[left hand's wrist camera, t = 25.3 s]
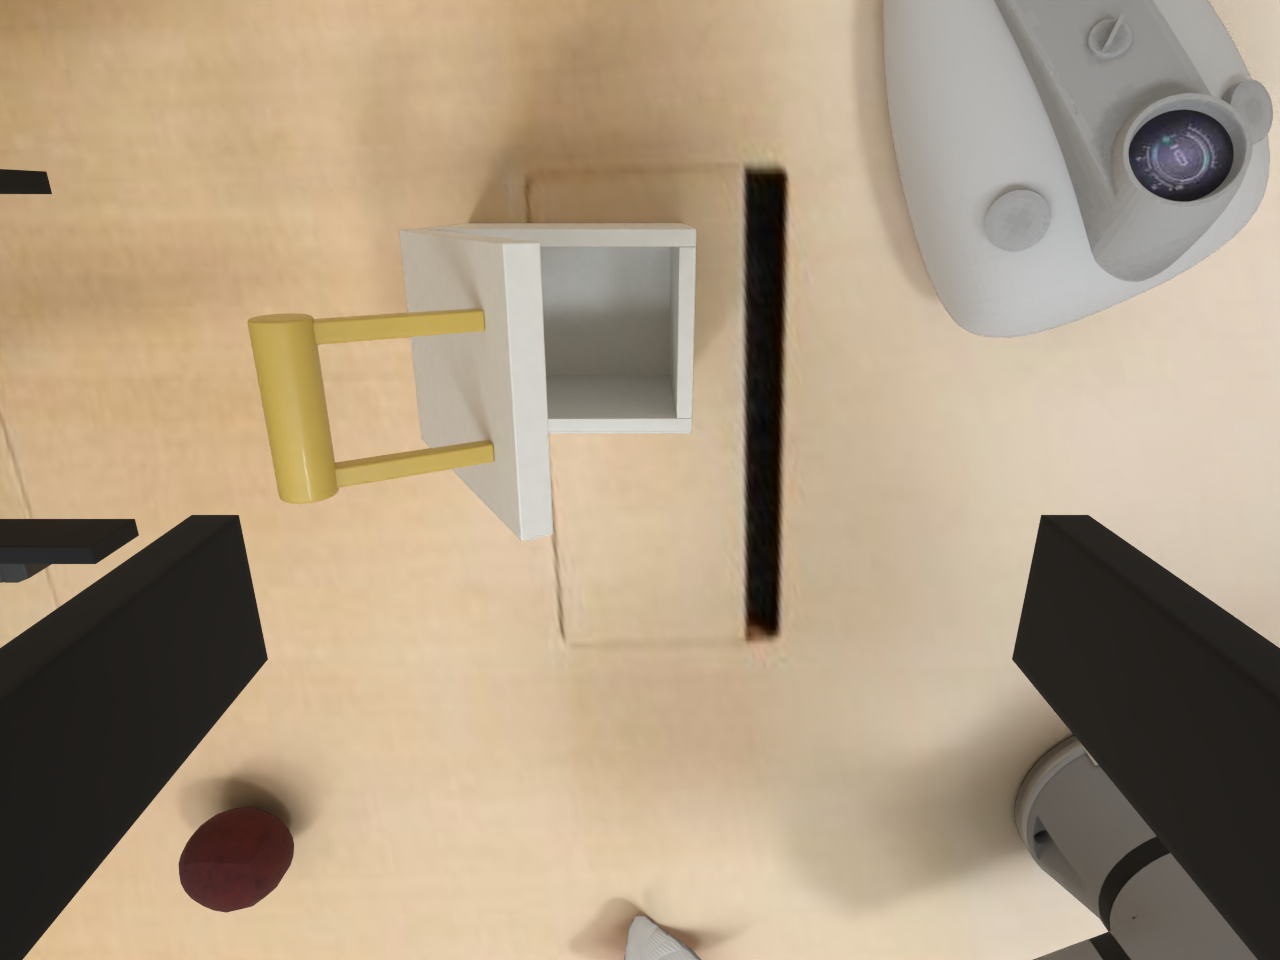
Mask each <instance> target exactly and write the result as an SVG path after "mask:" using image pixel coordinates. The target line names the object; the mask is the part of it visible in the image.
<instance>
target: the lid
mask: <svg viewBox="0 0 1280 960" xmlns="http://www.w3.org/2000/svg"><path fill="white" fill-rule="evenodd" d="M399 235H400V244H401V253H402V263H403V272H404V282H405V291H406V300H407V310H408V313H398V314H383V315H368V316H353V317H338V318H323V319H313V317H312V316H310V315H306V314H274V315H264V316H258V317H253V318H251V319H249V320H248V327H249V333H250V338H251V344H252V349H253V355H254V360H255V366H256V371H257V377H258V382H259V388H260V393H261V399H262V405H263V410H264V416H265V421H266V427H267V432H268V438H269V443H270V449H271V454H272V460H273V465H274V471H275V476H276V482H277V487H278V493H279V497H280V499H281V500H282V501H284V502H287V503H294V504H303V503H312V502H318V501H321V500H325V499H328V498H330V497H332V496H334V495H335V494H336V493H337V492H338V490H339V488H340V487H346V486H352V485H358V484H364V483H370V482H376V481H382V480H388V479H394V478H400V477H406V476H412V475H419V474H425V473H431V472H437V471H443V470H449V469H451V470H452V471H453V472H454V473H455V474H456V475H457V476H458V477H459V478H460V479H461V480H462V481H463V482H464V483H465V484H466V485H467V486H468V487H469V488H470V489H471V490H472V491H473V492H474V493H475V494H476V495H477V496H478V497H479V498H480V499H481V500H482V502H483V503H484V504H485V505H486V506H487V507H488V508H489V509H490V510H491V511H492V512H493V513H494V514H495V515H496V516H497V517H498V518H499V519H500V520H501V521H502V522H503V523H504V524H505V525H506V526H507V527H508V528H509V529H510V530H511V531H512V532H513V533H514V534H515V535H516V536H517V537H518V538H519V539H520V540H521V541H526V540H530V539H535V538H539V537H544V536H548V535H552V534H553V520H552V497H551V475H550V453H549V431H548V409H547V387H546V365H545V343H544V320H543V298H542V276H541V254H540V243H539V242H536V241H527V240H518V239H509V238H499V237H490V236H481V235H472V234H463V233H453V232H444V231H435V230H426V229H418V230H399ZM404 337H410V338H411V347H412V356H413V366H414V375H415V384H416V394H417V403H418V412H419V422H420V431H421V439H422V440H423V441H424V442H425V443H426V444H427V445H428V446H429V447H430V449H423V450H416V451H410V452H403V453H396V454H390V455H383V456H377V457H370V458H363V459H357V460H350V461H344V462H337V463H335V459H334V453H333V446H332V440H331V433H330V426H329V420H328V413H327V406H326V400H325V393H324V386H323V380H322V373H321V366H320V360H319V353H318V347H317V345H319V344H331V343H343V342H356V341H368V340H380V339H392V338H404Z"/></svg>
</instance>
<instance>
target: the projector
mask: <svg viewBox="0 0 1280 960" xmlns="http://www.w3.org/2000/svg"><path fill="white" fill-rule="evenodd" d="M883 32H884V63H885V77H886V90H887V100H888V109H889V117H890V124H891V130H892V137H893V143H894V150H895V155H896V160H897V165H898V169H899V174H900V179H901V184H902V188H903V192H904V196H905V200H906V204H907V208H908V212H909V216H910V219H911V223H912V226H913V230H914V233H915V236H916V240H917V243H918V246H919V249H920V252H921V255H922V258H923V261H924V264H925V266H926V269H927V272H928V274H929V277H930V280H931V282H932V284H933V286H934V289H935V291H936V293H937V295H938V297H939V299H940V301H941V302H942V304H943V306H944V308H945V309H946V311H947V312H948V314H949V315H950V316H951V318H952V319H953V320H954V321H955V322H956V323H957V324H958V325H959V326H960V327H962V328H963V329H965V330H966V331H968V332H970V333H973V334H976V335H980V336H986V337H1018V336H1024V335H1029V334H1034V333H1038V332H1041V331H1045V330H1049V329H1052V328H1055V327H1058V326H1061V325H1064V324H1067V323H1070V322H1073V321H1076V320H1078V319H1081V318H1084V317H1087V316H1089V315H1092V314H1095V313H1097V312H1100V311H1102V310H1105V309H1107V308H1110V307H1112V306H1114V305H1116V304H1118V303H1120V302H1123V301H1125V300H1128V299H1130V298H1132V297H1134V296H1137V295H1139V294H1141V293H1143V292H1146V291H1148V290H1150V289H1152V288H1154V287H1156V286H1158V285H1160V284H1162V283H1164V282H1166V281H1168V280H1170V279H1172V278H1173V277H1175V276H1177V275H1179V274H1181V273H1183V272H1184V271H1186V270H1188V269H1189V268H1191V267H1193V266H1194V265H1196V264H1198V263H1199V262H1201V261H1202V260H1204V259H1205V258H1207V257H1208V256H1210V255H1211V254H1213V253H1214V252H1216V251H1217V250H1218V249H1219V248H1221V247H1222V246H1223V245H1224V244H1226V243H1227V242H1228V241H1229V240H1231V239H1232V238H1233V237H1234V236H1235V235H1236V234H1237V233H1238V232H1239V231H1240V230H1241V229H1242V228H1243V227H1244V226H1245V225H1246V224H1247V223H1248V221H1249V220H1250V219H1251V217H1252V216H1253V215H1254V213H1255V212H1256V210H1257V209H1258V207H1259V204H1260V202H1261V200H1262V198H1263V196H1264V193H1265V189H1266V185H1267V182H1268V177H1269V163H1270V151H1269V141H1268V132H1269V130H1270V127H1271V124H1272V118H1273V109H1272V103H1271V99H1270V96H1269V94H1268V92H1267V90H1266V89H1265V87H1264V86H1263V85H1262V84H1261V83H1259V82H1258V81H1256V80H1252V79H1251V77H1250V74H1249V72H1248V70H1247V68H1246V66H1245V64H1244V62H1243V59H1242V57H1241V55H1240V53H1239V52H1238V50H1237V48H1236V46H1235V44H1234V42H1233V40H1232V38H1231V37H1230V35H1229V33H1228V31H1227V30H1226V28H1225V26H1224V24H1223V23H1222V21H1221V20H1220V18H1219V17H1218V15H1217V13H1216V12H1215V10H1214V9H1213V7H1212V6H1211V4H1210V3H1209V1H1208V0H883Z"/></svg>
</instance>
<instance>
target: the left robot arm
mask: <svg viewBox="0 0 1280 960" xmlns="http://www.w3.org/2000/svg"><path fill="white" fill-rule="evenodd" d="M267 660H268V658H267V653H266V648H265V643H264V638H263V633H262V628H261V623H260V618H259V613H258V608H257V603H256V598H255V594H254V589H253V584H252V579H251V574H250V569H249V564H248V559H247V554H246V549H245V544H244V539H243V534H242V529H241V524H240V519H239V515H191V516H190V517H188V518H187V519H186V520H184V521H183V522H181V523H180V524H178V525H177V526H175V527H174V528H173V529H171V530H170V531H168V532H167V533H165V534H164V535H163V536H161V537H160V538H158V539H157V540H155V541H154V542H152V543H151V544H150V545H148V546H147V547H145V548H144V549H142V550H141V551H140V552H138V553H137V554H135V555H134V556H132V557H131V558H129V559H128V560H127V561H125V562H124V563H122V564H121V565H119V566H118V567H117V568H115V569H114V570H112V571H111V572H109V573H108V574H106V575H105V576H104V577H102V578H101V579H99V580H98V581H96V582H95V583H93V584H92V585H91V586H89V587H88V588H86V589H85V590H83V591H82V592H81V593H79V594H78V595H76V596H75V597H73V598H72V599H70V600H69V601H68V602H66V603H65V604H63V605H62V606H60V607H59V608H58V609H56V610H55V611H53V612H52V613H50V614H49V615H47V616H46V617H45V618H43V619H42V620H40V621H39V622H37V623H36V624H35V625H33V626H32V627H30V628H29V629H27V630H26V631H24V632H23V633H22V634H20V635H19V636H17V637H16V638H14V639H13V640H12V641H10V642H9V643H7V644H6V645H4V646H3V647H1V648H0V960H23V958H24V957H25V956H26V955H27V953H28V952H29V951H30V950H31V949H32V947H33V946H34V945H35V944H36V942H37V941H38V940H39V939H40V938H41V936H42V935H43V934H44V933H45V931H46V930H47V929H48V928H49V926H50V925H51V924H52V923H53V922H54V920H55V919H56V918H57V917H58V915H59V914H60V913H61V912H62V911H63V909H64V908H65V907H66V906H67V904H68V903H69V902H70V901H71V900H72V898H73V897H74V896H75V895H76V893H77V892H78V891H79V890H80V889H81V887H82V886H83V885H84V884H85V882H86V881H87V880H88V879H89V878H90V876H91V875H92V874H93V873H94V871H95V870H96V869H97V868H98V867H99V865H100V864H101V863H102V862H103V860H104V859H105V858H106V857H107V855H108V854H109V853H110V852H111V851H112V849H113V848H114V847H115V846H116V844H117V843H118V842H119V841H120V840H121V838H122V837H123V836H124V835H125V833H126V832H127V831H128V830H129V829H130V827H131V826H132V825H133V824H134V822H135V821H136V820H137V819H138V818H139V816H140V815H141V814H142V813H143V811H144V810H145V809H146V808H147V807H148V805H149V804H150V803H151V802H152V800H153V799H154V798H155V797H156V795H157V794H158V793H159V792H160V791H161V789H162V788H163V787H164V786H165V784H166V783H167V782H168V781H169V780H170V778H171V777H172V776H173V775H174V773H175V772H176V771H177V770H178V769H179V767H180V766H181V765H182V764H183V762H184V761H185V760H186V759H187V758H188V756H189V755H190V754H191V753H192V751H193V750H194V749H195V748H196V747H197V745H198V744H199V743H200V742H201V740H202V739H203V738H204V737H205V736H206V734H207V733H208V732H209V731H210V729H211V728H212V727H213V726H214V724H215V723H216V722H217V721H218V720H219V718H220V717H221V716H222V715H223V713H224V712H225V711H226V710H227V709H228V707H229V706H230V705H231V704H232V702H233V701H234V700H235V699H236V698H237V696H238V695H239V694H240V693H241V691H242V690H243V689H244V688H245V687H246V685H247V684H248V683H249V682H250V680H251V679H252V678H253V677H254V676H255V674H256V673H257V672H258V671H259V669H260V668H261V667H262V666H263V664H264V663H265V662H266V661H267ZM1012 660H1013V661H1014V662H1015V663H1016V664H1017V666H1018V667H1019V668H1020V669H1021V671H1022V672H1023V673H1024V674H1025V676H1026V677H1027V678H1028V679H1029V680H1030V682H1031V683H1032V684H1033V685H1034V687H1035V688H1036V689H1037V690H1038V691H1039V693H1040V694H1041V695H1042V696H1043V698H1044V699H1045V700H1046V701H1047V702H1048V704H1049V705H1050V706H1051V707H1052V709H1053V710H1054V711H1055V712H1056V713H1057V715H1058V716H1059V717H1060V718H1061V720H1062V721H1063V722H1064V723H1065V724H1066V726H1067V727H1068V728H1069V729H1070V731H1071V732H1072V733H1073V734H1074V736H1072V737H1070V738H1068V739H1066V740H1065V741H1063V742H1062V743H1060V744H1058V745H1057V746H1056V747H1054V748H1053V749H1051V750H1050V751H1049V752H1048V753H1047V754H1045V755H1044V756H1043V757H1042V758H1041V759H1040V760H1039V761H1038V762H1037V763H1036V764H1035V766H1034V767H1033V768H1032V769H1031V770H1030V772H1029V773H1028V775H1027V776H1026V778H1025V780H1024V782H1023V783H1022V785H1021V788H1020V790H1019V793H1018V796H1017V800H1016V805H1015V821H1016V825H1017V829H1018V832H1019V834H1020V836H1021V838H1022V840H1023V842H1024V843H1025V845H1026V847H1027V848H1028V850H1029V852H1030V853H1031V855H1032V857H1033V858H1034V860H1035V861H1036V863H1037V864H1038V865H1039V866H1040V867H1041V868H1042V869H1043V870H1044V871H1045V872H1046V873H1048V874H1049V875H1050V876H1051V877H1052V878H1053V879H1055V880H1056V881H1057V882H1058V883H1059V884H1060V885H1061V886H1063V887H1064V888H1065V889H1066V890H1067V891H1068V892H1070V893H1071V894H1072V895H1073V896H1074V897H1075V898H1077V899H1078V900H1079V901H1080V902H1081V903H1082V904H1083V905H1085V906H1086V907H1087V908H1088V909H1089V910H1090V911H1092V912H1093V913H1094V914H1095V915H1096V916H1097V917H1099V918H1100V920H1101V921H1102V923H1103V924H1104V925H1105V927H1106V929H1107V930H1108V932H1107V933H1104V934H1102V935H1099V936H1096V937H1094V938H1091V939H1089V940H1085V941H1082V942H1079V943H1077V944H1074V945H1071V946H1069V947H1066V948H1063V949H1060V950H1058V951H1055V952H1052V953H1050V954H1047V955H1044V956H1042V957H1039V958H1036V959H1033V960H1280V648H1279V647H1277V646H1276V645H1274V644H1273V643H1271V642H1270V641H1268V640H1267V639H1266V638H1264V637H1263V636H1261V635H1260V634H1258V633H1257V632H1256V631H1254V630H1253V629H1251V628H1250V627H1248V626H1247V625H1245V624H1244V623H1243V622H1241V621H1240V620H1238V619H1237V618H1235V617H1234V616H1233V615H1231V614H1230V613H1228V612H1227V611H1225V610H1224V609H1222V608H1221V607H1220V606H1218V605H1217V604H1215V603H1214V602H1212V601H1211V600H1210V599H1208V598H1207V597H1205V596H1204V595H1202V594H1201V593H1199V592H1198V591H1197V590H1195V589H1194V588H1192V587H1191V586H1189V585H1188V584H1187V583H1185V582H1184V581H1182V580H1181V579H1179V578H1178V577H1176V576H1175V575H1174V574H1172V573H1171V572H1169V571H1168V570H1166V569H1165V568H1163V567H1162V566H1161V565H1159V564H1158V563H1156V562H1155V561H1153V560H1152V559H1151V558H1149V557H1148V556H1146V555H1145V554H1143V553H1142V552H1140V551H1139V550H1138V549H1136V548H1135V547H1133V546H1132V545H1130V544H1129V543H1128V542H1126V541H1125V540H1123V539H1122V538H1120V537H1119V536H1117V535H1116V534H1115V533H1113V532H1112V531H1110V530H1109V529H1107V528H1106V527H1105V526H1103V525H1102V524H1100V523H1099V522H1097V521H1096V520H1094V519H1093V518H1092V517H1090V516H1089V515H1041V519H1040V524H1039V529H1038V534H1037V539H1036V544H1035V549H1034V554H1033V559H1032V564H1031V569H1030V574H1029V579H1028V584H1027V589H1026V593H1025V598H1024V603H1023V608H1022V613H1021V618H1020V623H1019V628H1018V633H1017V638H1016V643H1015V648H1014V653H1013V658H1012Z"/></svg>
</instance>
